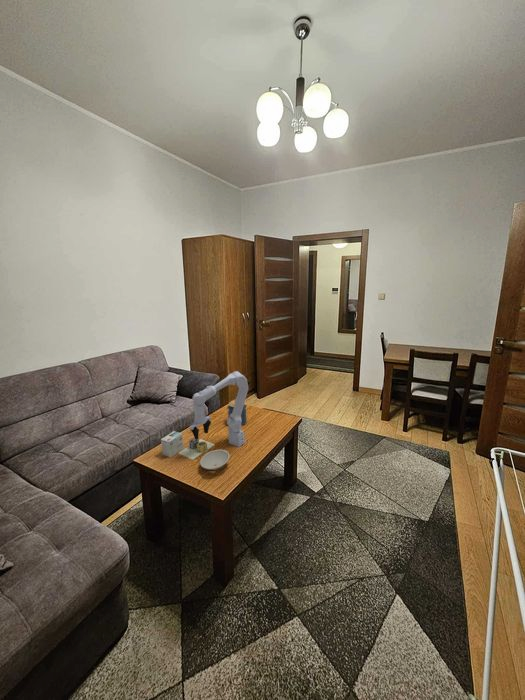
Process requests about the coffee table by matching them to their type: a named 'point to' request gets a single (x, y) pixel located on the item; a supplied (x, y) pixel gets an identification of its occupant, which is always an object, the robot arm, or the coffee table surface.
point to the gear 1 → (193, 444)
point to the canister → (243, 414)
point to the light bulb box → (172, 443)
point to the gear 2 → (202, 447)
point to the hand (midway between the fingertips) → (201, 435)
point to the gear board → (194, 450)
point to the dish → (214, 459)
